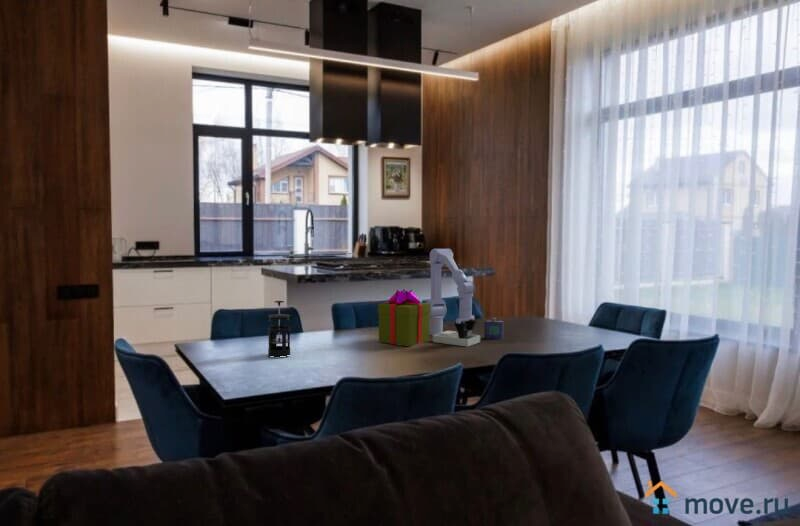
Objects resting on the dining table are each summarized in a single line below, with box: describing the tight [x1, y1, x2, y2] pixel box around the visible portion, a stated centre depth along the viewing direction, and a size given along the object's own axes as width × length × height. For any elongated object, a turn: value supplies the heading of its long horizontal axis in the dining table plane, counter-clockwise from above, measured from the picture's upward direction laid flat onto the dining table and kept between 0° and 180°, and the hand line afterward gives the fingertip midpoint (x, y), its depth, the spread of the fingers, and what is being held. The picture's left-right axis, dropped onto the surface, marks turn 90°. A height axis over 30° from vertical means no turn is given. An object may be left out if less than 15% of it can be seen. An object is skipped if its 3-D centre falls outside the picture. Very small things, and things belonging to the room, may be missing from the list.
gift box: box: [377, 288, 430, 347], centre depth 270 cm, size 21×21×25 cm
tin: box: [459, 328, 473, 339], centre depth 267 cm, size 5×5×6 cm
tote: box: [432, 332, 482, 347], centre depth 270 cm, size 18×13×4 cm
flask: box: [483, 317, 504, 340], centre depth 280 cm, size 9×3×11 cm, turn 88°
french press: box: [267, 300, 291, 357], centre depth 240 cm, size 12×9×23 cm
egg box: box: [439, 330, 458, 338], centre depth 272 cm, size 5×8×4 cm, turn 146°
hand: (465, 336), depth 267 cm, fingers open, 7 cm apart
